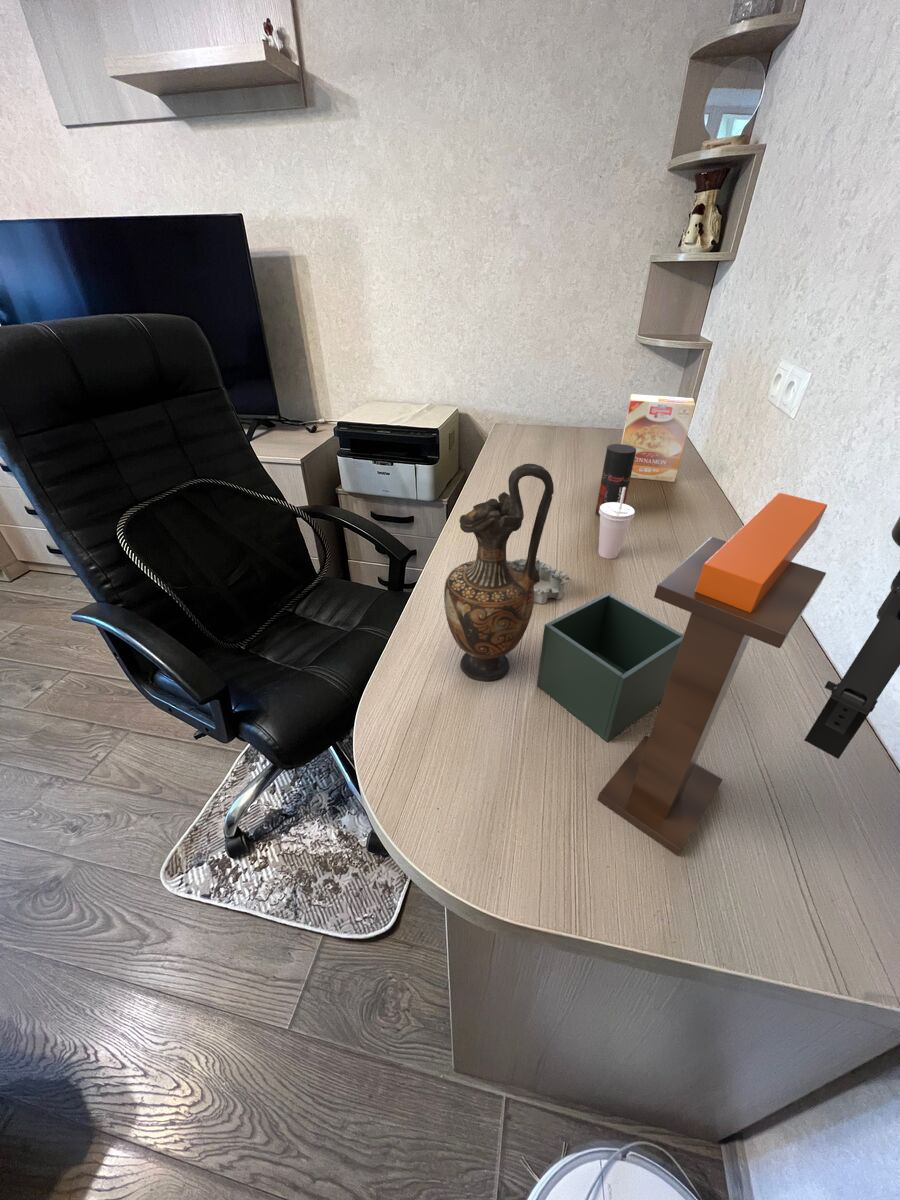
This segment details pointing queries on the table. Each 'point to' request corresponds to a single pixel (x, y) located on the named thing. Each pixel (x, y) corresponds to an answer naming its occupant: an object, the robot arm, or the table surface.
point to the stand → (698, 697)
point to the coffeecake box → (657, 434)
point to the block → (760, 552)
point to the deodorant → (616, 474)
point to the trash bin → (607, 663)
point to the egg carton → (546, 581)
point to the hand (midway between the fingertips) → (847, 710)
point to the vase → (495, 581)
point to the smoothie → (613, 526)
